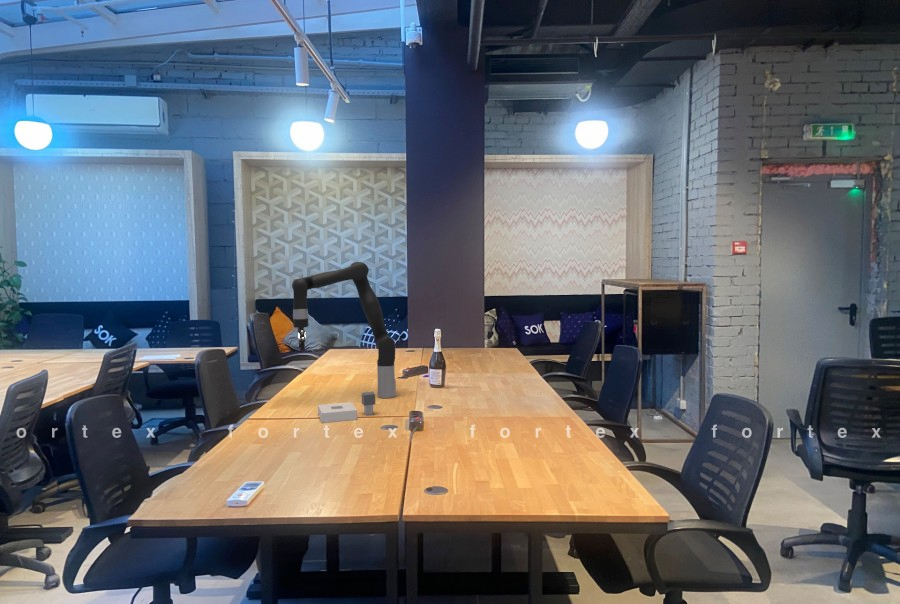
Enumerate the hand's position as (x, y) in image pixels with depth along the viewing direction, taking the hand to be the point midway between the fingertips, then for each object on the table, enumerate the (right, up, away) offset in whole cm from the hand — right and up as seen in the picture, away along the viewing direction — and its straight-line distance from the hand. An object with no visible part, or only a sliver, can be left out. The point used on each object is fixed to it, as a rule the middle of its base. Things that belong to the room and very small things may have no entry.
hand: (301, 349), depth 302 cm
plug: (+37, -30, -19) cm, 51 cm away
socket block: (+23, -30, -24) cm, 45 cm away
